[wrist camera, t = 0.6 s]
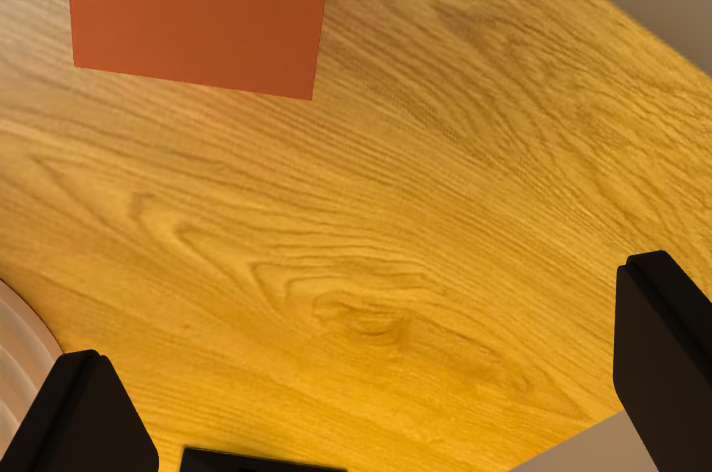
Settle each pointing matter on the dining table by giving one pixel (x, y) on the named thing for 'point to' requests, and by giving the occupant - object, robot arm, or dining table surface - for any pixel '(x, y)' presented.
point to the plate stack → (21, 361)
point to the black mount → (239, 463)
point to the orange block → (203, 41)
